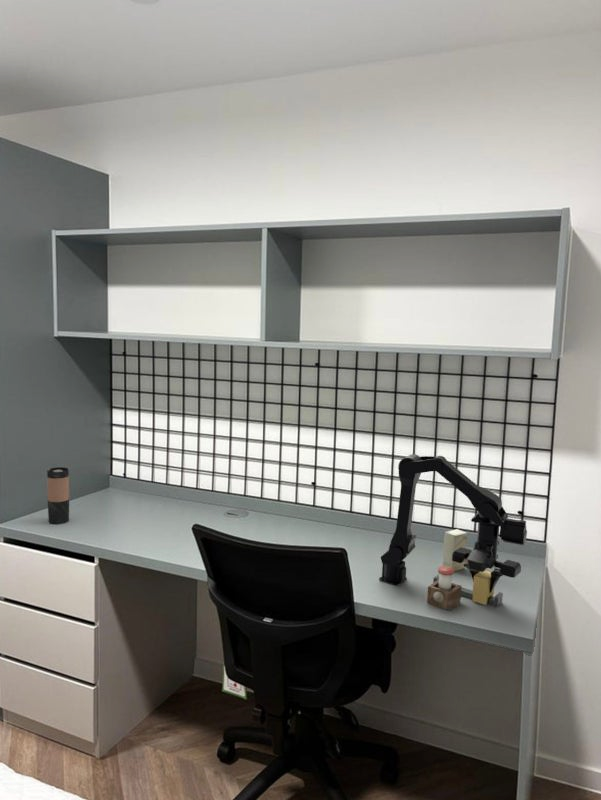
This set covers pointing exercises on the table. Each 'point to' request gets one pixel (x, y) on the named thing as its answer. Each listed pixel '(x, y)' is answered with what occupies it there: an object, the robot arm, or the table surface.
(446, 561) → the skincare box
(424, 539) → the table surface
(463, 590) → the rail
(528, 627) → the table surface
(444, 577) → the plunger
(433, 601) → the brown wooden box
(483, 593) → the block
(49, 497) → the travel mug
